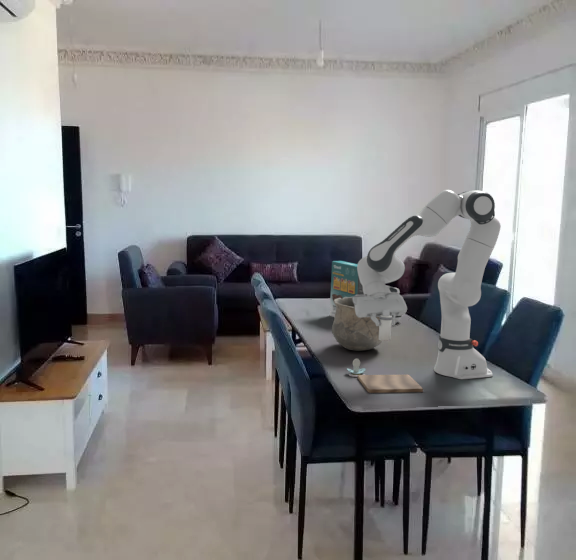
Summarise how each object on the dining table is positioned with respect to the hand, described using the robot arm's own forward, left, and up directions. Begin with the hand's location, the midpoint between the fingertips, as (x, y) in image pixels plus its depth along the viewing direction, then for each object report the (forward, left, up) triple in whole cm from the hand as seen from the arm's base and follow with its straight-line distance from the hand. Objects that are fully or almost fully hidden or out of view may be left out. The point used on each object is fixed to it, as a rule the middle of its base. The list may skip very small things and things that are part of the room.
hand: (386, 325), depth 231 cm
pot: (-1, -43, -22) cm, 48 cm away
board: (-1, +5, -21) cm, 22 cm away
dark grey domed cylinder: (-32, -93, -22) cm, 100 cm away
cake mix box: (-9, -99, -22) cm, 101 cm away
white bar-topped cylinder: (0, -1, -6) cm, 6 cm away
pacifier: (+9, -6, -22) cm, 24 cm away
